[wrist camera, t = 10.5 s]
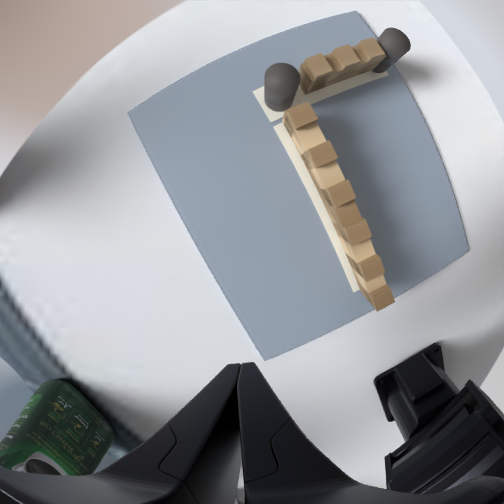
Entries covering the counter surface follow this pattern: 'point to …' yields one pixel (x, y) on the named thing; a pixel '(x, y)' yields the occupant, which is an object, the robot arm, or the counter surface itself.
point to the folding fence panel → (339, 203)
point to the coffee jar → (57, 434)
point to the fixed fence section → (332, 67)
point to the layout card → (299, 184)
